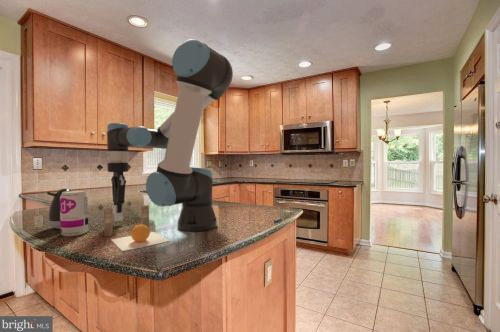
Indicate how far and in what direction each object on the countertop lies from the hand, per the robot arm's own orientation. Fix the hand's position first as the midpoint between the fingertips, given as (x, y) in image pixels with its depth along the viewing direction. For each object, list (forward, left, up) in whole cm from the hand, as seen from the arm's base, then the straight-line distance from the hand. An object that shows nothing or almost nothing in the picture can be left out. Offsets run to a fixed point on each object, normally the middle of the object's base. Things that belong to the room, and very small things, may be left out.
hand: (118, 220), depth 102 cm
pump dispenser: (+10, +17, -2) cm, 20 cm away
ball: (-28, 0, +1) cm, 28 cm away
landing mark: (-27, 0, -2) cm, 27 cm away
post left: (-13, +6, -2) cm, 15 cm away
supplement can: (-3, +15, -2) cm, 15 cm away
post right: (-13, -6, -2) cm, 15 cm away
